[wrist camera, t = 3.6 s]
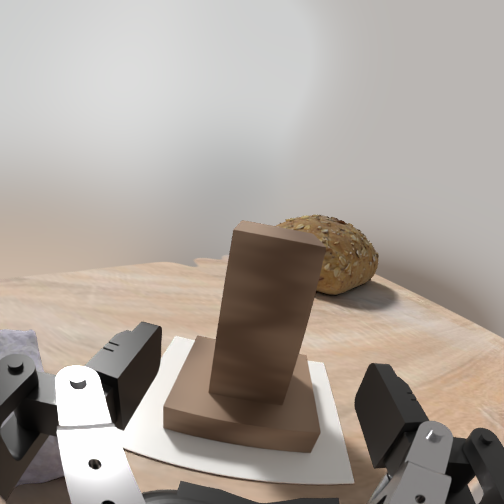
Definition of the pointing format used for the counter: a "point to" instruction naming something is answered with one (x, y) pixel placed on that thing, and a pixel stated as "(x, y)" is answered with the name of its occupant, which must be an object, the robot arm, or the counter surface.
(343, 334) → the counter surface
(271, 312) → the walnut stamp
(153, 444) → the tile
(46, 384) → the robot arm
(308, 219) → the bread
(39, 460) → the stone block
